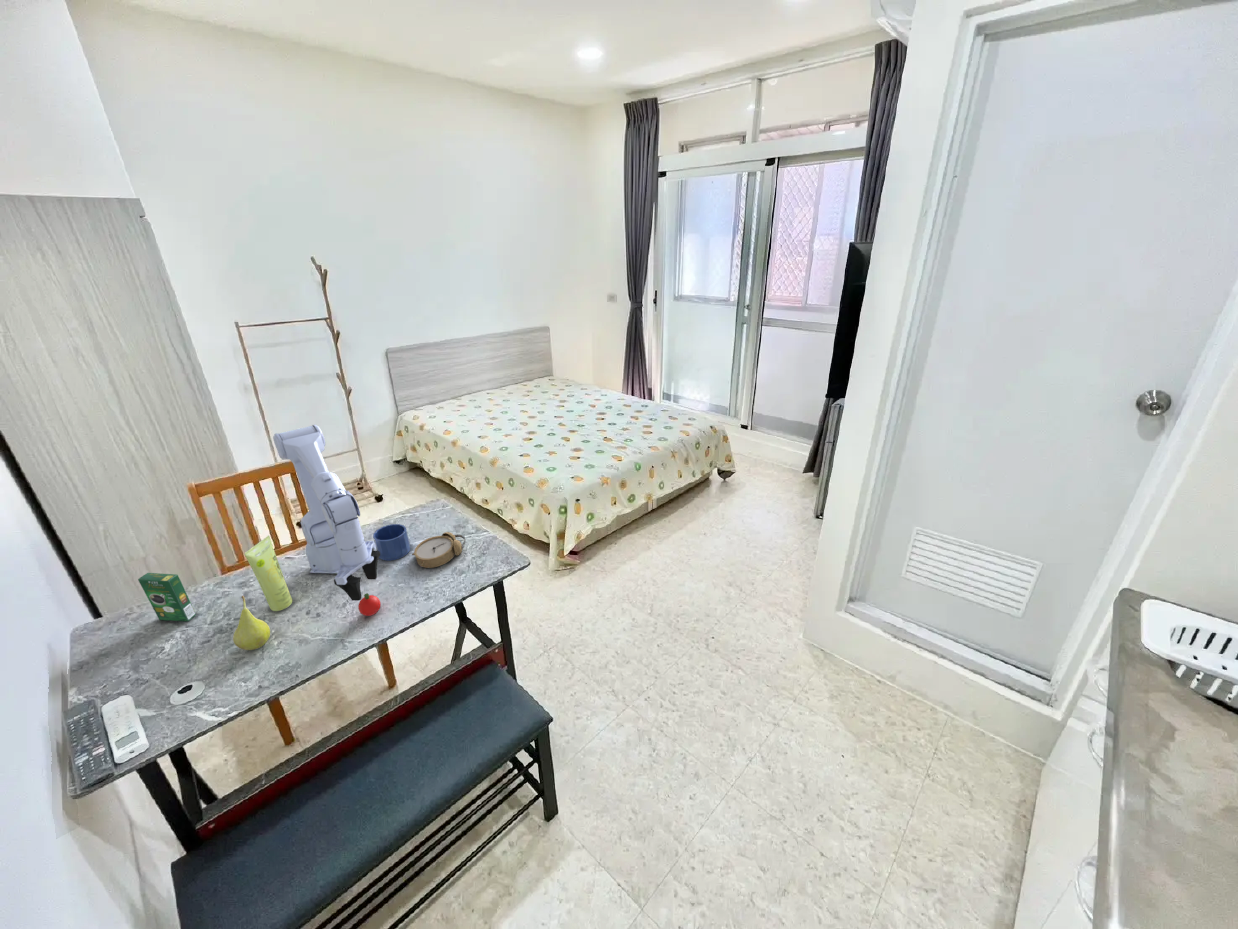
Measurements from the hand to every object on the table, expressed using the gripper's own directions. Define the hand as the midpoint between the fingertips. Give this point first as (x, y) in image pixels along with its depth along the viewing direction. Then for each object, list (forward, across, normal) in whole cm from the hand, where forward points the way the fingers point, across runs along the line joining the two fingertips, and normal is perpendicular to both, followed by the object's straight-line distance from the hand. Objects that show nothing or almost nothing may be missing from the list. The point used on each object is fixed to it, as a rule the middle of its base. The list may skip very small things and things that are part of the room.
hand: (364, 588), depth 120 cm
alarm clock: (+8, +25, -9) cm, 28 cm away
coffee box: (+8, -3, +48) cm, 49 cm away
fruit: (+8, -11, +22) cm, 26 cm away
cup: (+8, +26, +6) cm, 28 cm away
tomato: (+8, 0, 0) cm, 8 cm away
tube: (+8, +2, +25) cm, 26 cm away
